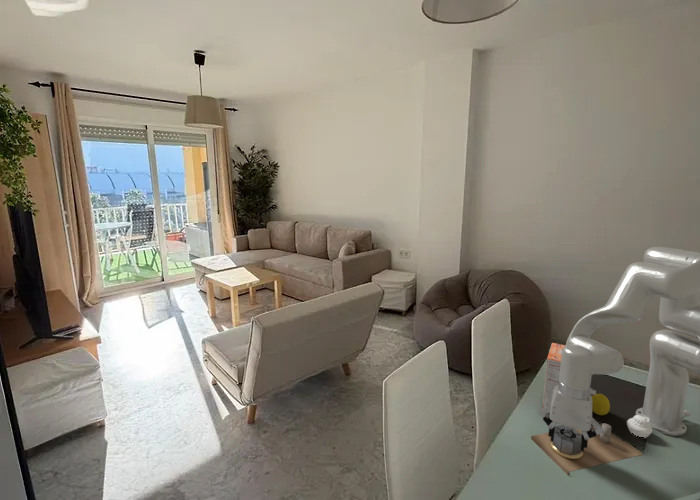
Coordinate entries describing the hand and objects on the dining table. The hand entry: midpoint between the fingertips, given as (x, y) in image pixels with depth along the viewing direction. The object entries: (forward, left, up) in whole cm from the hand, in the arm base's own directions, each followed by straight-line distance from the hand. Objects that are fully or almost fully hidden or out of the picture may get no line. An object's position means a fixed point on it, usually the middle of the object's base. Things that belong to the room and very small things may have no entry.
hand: (566, 443), depth 103 cm
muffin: (-27, 0, -3) cm, 27 cm away
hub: (0, 0, -3) cm, 3 cm away
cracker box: (-13, -19, -3) cm, 23 cm away
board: (-7, 0, -3) cm, 8 cm away
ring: (0, 0, -1) cm, 1 cm away
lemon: (-24, -11, -3) cm, 27 cm away
